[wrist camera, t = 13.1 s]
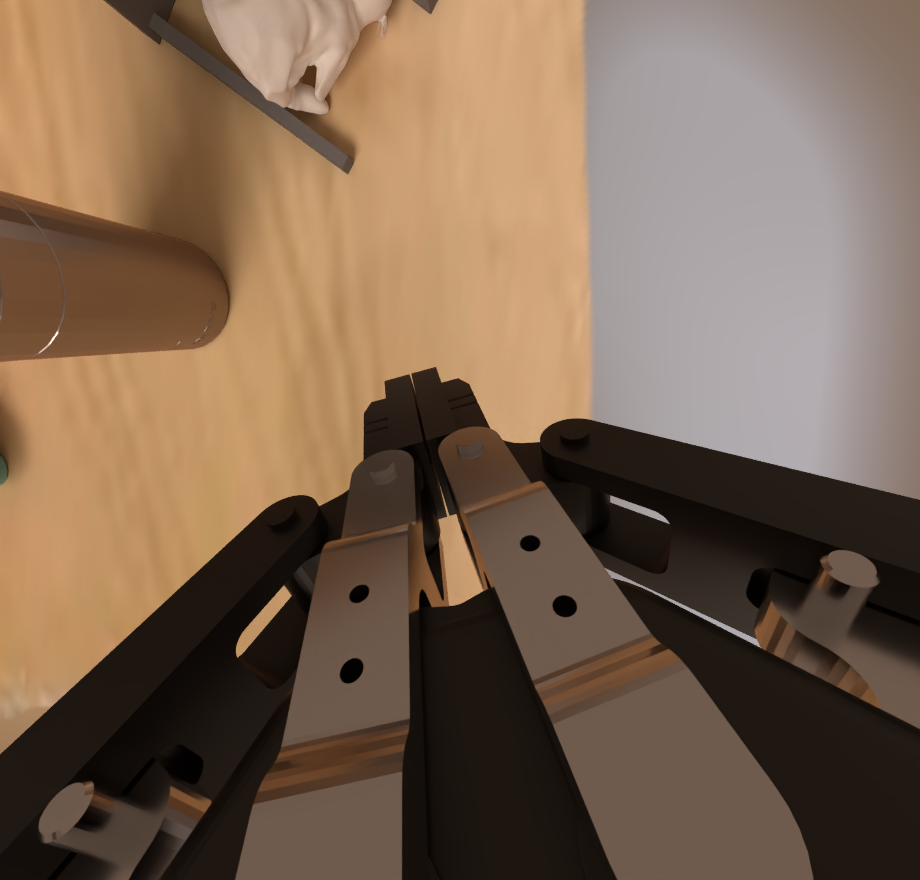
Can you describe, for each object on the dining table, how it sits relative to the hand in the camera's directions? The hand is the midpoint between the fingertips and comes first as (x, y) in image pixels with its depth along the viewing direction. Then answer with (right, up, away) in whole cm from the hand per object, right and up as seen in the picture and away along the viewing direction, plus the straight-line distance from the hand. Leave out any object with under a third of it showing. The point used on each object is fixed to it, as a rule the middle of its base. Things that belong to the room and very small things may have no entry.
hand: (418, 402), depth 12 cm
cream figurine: (-8, +28, +19) cm, 35 cm away
